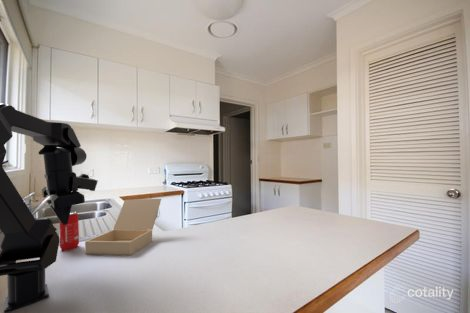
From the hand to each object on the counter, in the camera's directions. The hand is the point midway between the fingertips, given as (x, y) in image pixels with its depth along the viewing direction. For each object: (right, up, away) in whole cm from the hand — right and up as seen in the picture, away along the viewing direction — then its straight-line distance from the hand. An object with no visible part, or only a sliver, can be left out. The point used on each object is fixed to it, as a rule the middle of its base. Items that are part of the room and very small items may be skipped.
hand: (65, 224), depth 60 cm
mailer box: (+9, -12, +12) cm, 19 cm away
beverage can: (-10, -13, +14) cm, 21 cm away
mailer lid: (+10, -3, +22) cm, 24 cm away
